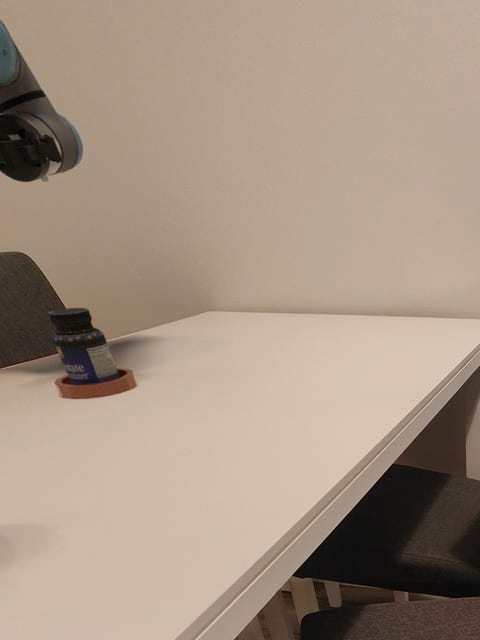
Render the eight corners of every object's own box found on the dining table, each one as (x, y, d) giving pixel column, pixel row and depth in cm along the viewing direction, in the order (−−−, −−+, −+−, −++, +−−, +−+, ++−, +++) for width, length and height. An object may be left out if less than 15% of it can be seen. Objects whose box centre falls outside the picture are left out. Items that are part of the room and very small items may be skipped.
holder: (51, 414, 80) (39, 387, 78) (89, 393, 88) (79, 368, 86) (122, 412, 80) (111, 385, 78) (154, 391, 88) (145, 366, 85)
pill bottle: (69, 402, 82) (29, 313, 75) (105, 390, 87) (71, 305, 80) (101, 406, 80) (63, 315, 73) (136, 394, 85) (104, 307, 78)
